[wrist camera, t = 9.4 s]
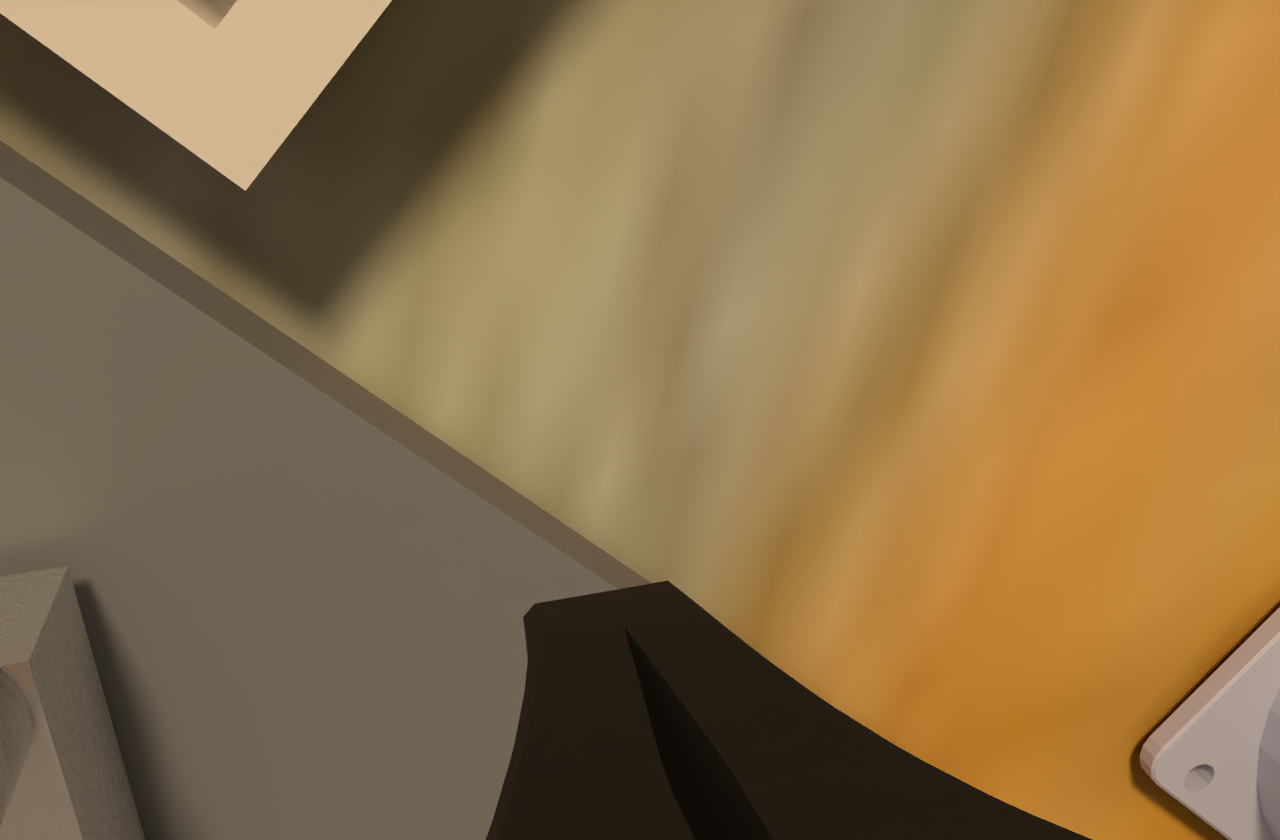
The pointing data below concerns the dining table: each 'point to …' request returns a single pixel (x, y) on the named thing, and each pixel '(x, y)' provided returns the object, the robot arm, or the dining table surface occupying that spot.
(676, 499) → the dining table surface
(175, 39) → the tray
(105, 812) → the crank
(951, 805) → the robot arm
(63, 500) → the crank base
